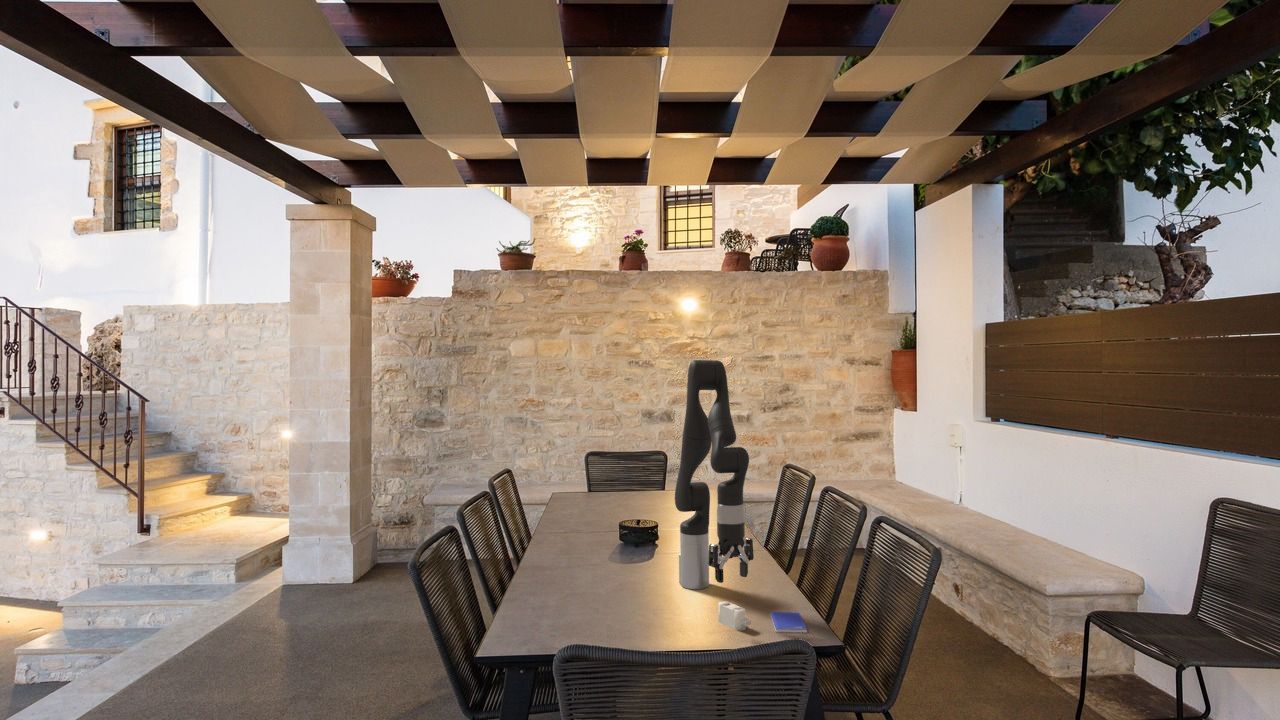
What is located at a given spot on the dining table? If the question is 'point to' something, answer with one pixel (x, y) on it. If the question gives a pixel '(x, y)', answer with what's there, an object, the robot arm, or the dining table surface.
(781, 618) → the hard drive
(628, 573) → the dining table surface
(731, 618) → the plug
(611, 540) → the dining table surface
